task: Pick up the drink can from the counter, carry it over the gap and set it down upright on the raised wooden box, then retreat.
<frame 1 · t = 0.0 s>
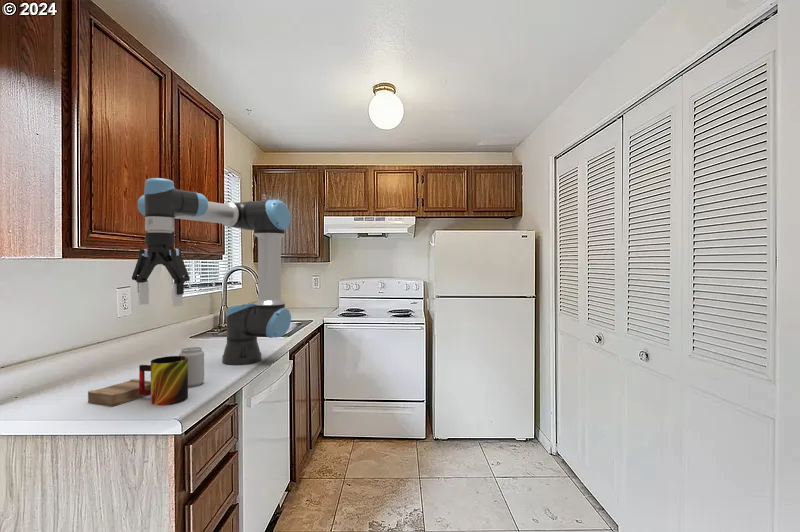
hand: (160, 305, 128), 28 cm above the worktop, fingers open, 13 cm apart
can: (191, 384, 145), on the worktop
mug: (161, 401, 128), on the worktop
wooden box: (123, 397, 131), on the worktop
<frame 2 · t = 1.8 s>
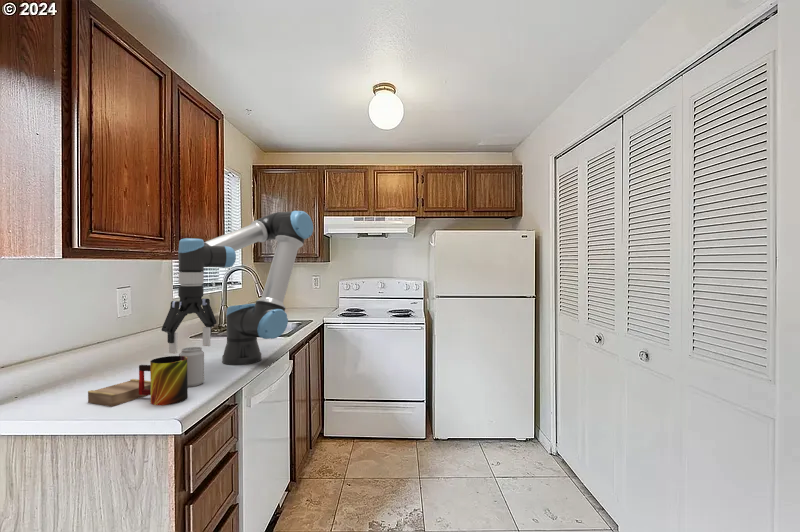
hand: (190, 349, 145), 12 cm above the worktop, fingers open, 13 cm apart
nothing on the worktop moved.
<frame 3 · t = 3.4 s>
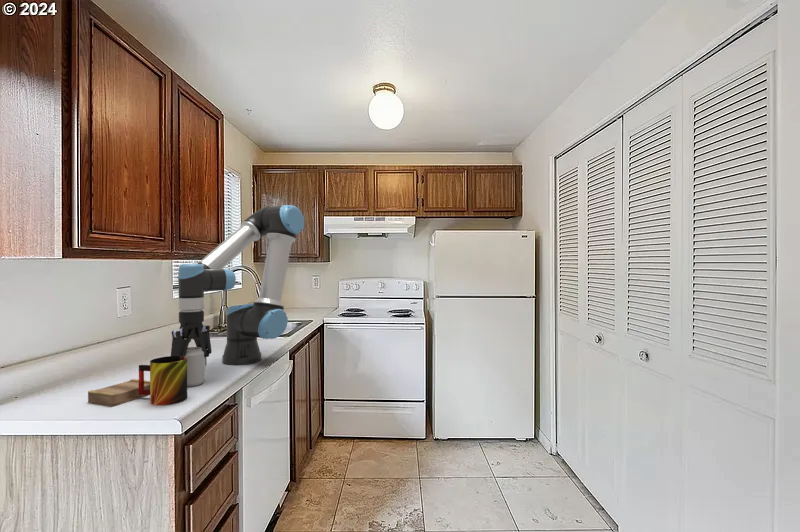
hand: (191, 379, 145), 2 cm above the worktop, fingers closed on can, 7 cm apart
can: (191, 384, 145), on the worktop, touching gripper
everything else where it was.
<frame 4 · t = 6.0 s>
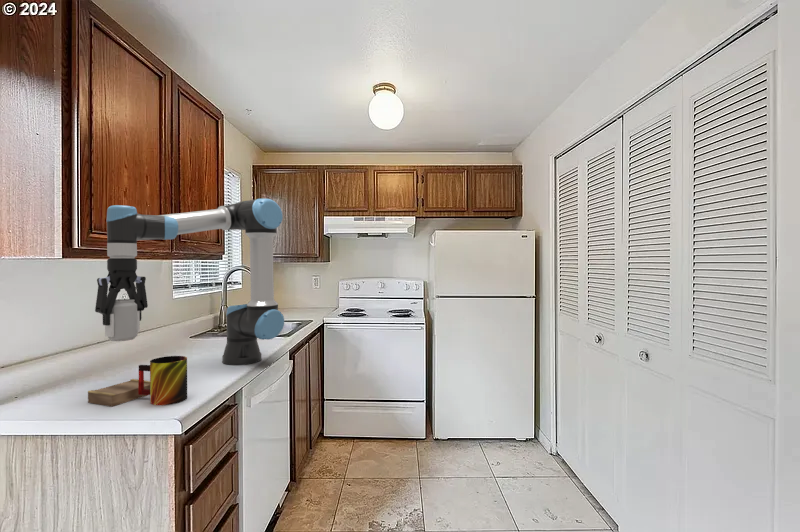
hand: (122, 334, 131), 19 cm above the worktop, fingers closed on can, 7 cm apart
can: (122, 340, 131), point 17 cm above the worktop, touching gripper
everything else where it was.
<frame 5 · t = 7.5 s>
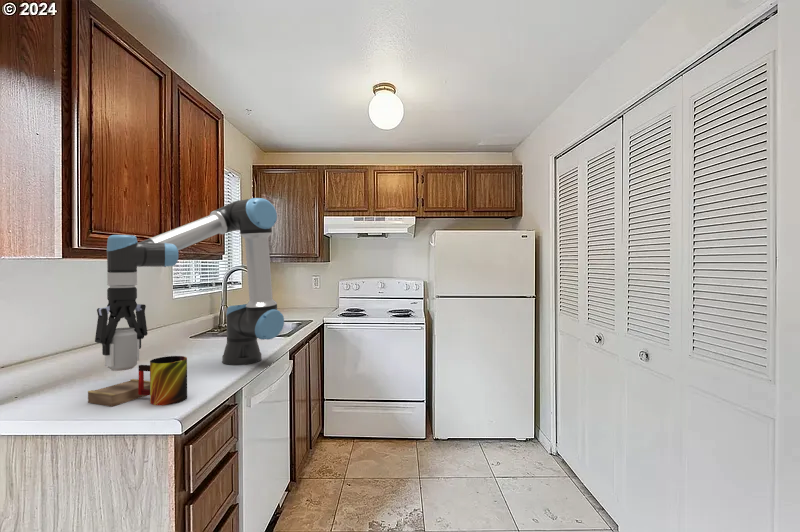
hand: (122, 362, 131), 10 cm above the worktop, fingers closed on can, 7 cm apart
can: (122, 369, 131), point 9 cm above the worktop, touching gripper
everything else where it was.
when the fingers open (6 cm above the worktop, at t = 8.8 s): can stays where it is, resting on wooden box.
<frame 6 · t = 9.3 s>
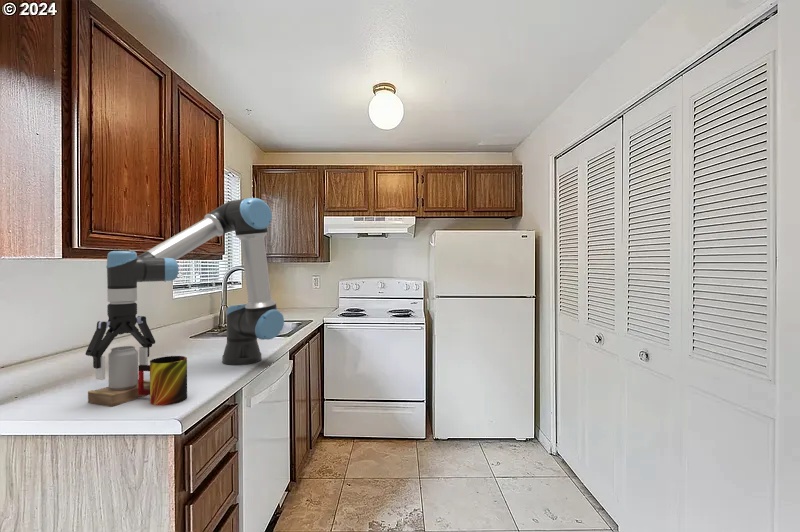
hand: (123, 373, 131), 7 cm above the worktop, fingers open, 13 cm apart
can: (123, 387, 131), point 3 cm above the worktop, touching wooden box
everything else where it was.
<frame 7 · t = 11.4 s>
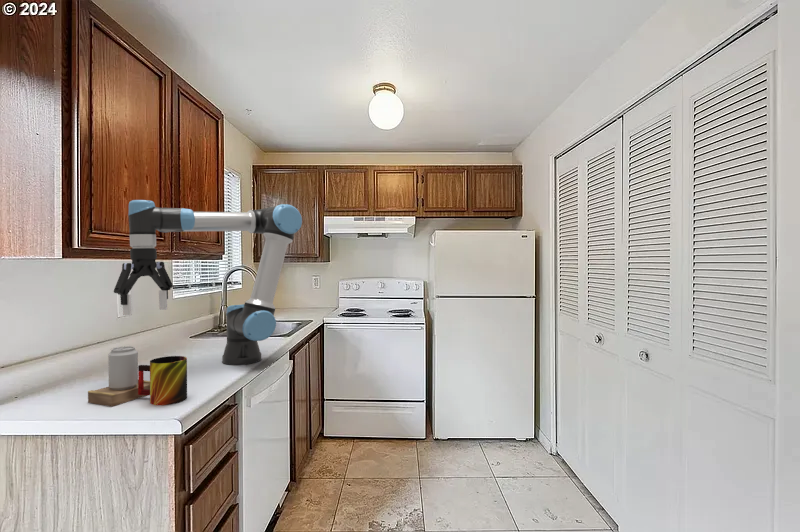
hand: (146, 312, 144), 24 cm above the worktop, fingers open, 13 cm apart
nothing on the worktop moved.
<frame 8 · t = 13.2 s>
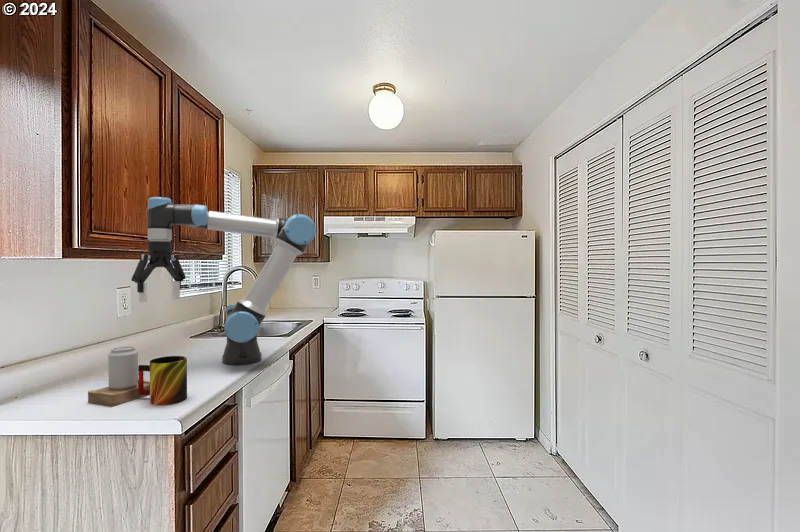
hand: (160, 300, 157), 27 cm above the worktop, fingers open, 13 cm apart
nothing on the worktop moved.
at the end: can inside the target area on the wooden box (0.1 cm from its centre), point 2.8 cm above the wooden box's base; can tilted 0°; the gripper is holding nothing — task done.
